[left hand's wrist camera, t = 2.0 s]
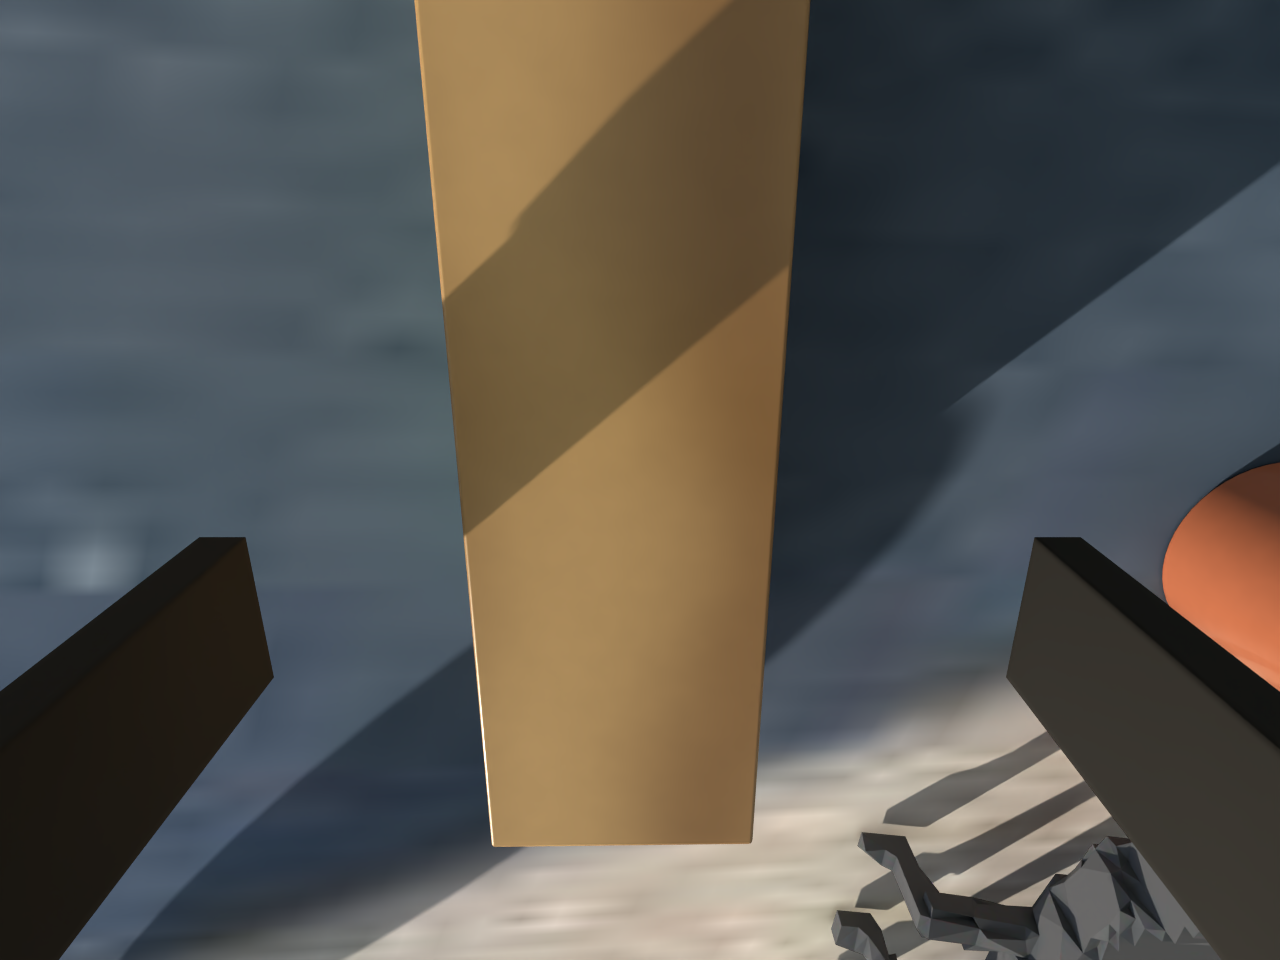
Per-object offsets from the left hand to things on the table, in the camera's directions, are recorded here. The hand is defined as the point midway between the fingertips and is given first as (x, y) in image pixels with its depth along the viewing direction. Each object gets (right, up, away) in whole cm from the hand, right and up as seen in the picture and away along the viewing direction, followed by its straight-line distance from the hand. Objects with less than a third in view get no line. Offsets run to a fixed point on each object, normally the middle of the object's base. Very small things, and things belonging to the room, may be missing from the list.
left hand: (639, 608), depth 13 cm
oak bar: (0, +11, +4) cm, 12 cm away
